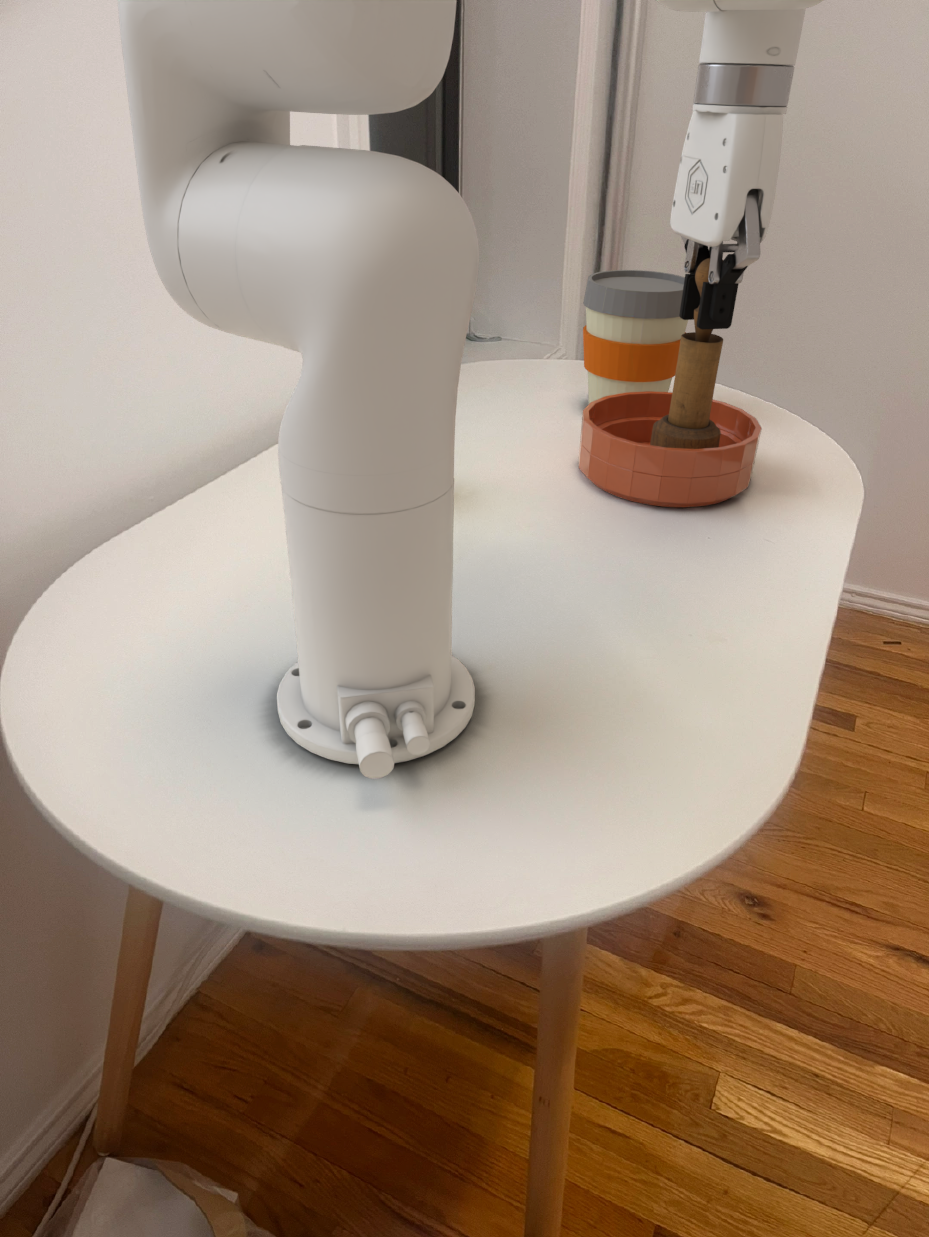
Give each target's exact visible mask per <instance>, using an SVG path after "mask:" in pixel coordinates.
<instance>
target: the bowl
mask: <svg viewBox="0 0 929 1237" xmlns="http://www.w3.org/2000/svg"><path fill="white" fill-rule="evenodd" d="M672 392H673V391H672ZM672 392H671V391H668V392H653V391H646V392H627V393H621V394H615V395H610V396H605V397H602V398H600V399H598V400H595V401H593V402H591V403H589V402H588V404H587V406H585V407H584V408H583V409H582V413H581V414H582V415H581V424H580V425H581V426H580V434H579V435H580V438H579V446H578V448H579V449H578V455H577V456H578V457H577V458H578V460H577V461H578V469H579V470H580V472H581V473H582V474H583V475H584V476H585V477H586V478H587V479H588V480H589V481H590V482H591V483H593V485H595V486H596V487H597V488H598V489H600V490H602V491H604V492H606V493H608V494H610V495H613V496H615V497H618V498H620V499H622V500H623V499H624V500H627V501H630V502H633V503H634V502H635V503H639V504H643V505H648V506H656V507H666V508H697V507H706V506H710V505H715V504H719V503H722V502H725V501H727V500H729V499H731V498H733V497H736V496H737V495H739V494H740V493H741V492H744V490H746V489H748V487H749V485H750V483H751V480H752V477H753V472H754V468H755V463H756V457H757V453H758V449H759V448H758V447H759V443H760V439H761V433H762V430H763V428H762V426H761V425H760V422H759V420H758V419H757V418H756V417H755V416H753V415H752V414H751V413H750V412H749V413H748V411H746V410H744V409H743V408H740V407H737V406H735V405H732V404H730V403H727V402H726V401H725V402H724V401H721V400H717V399H713V400H712V406H711V412H710V418H709V419H710V420H712V421H713V422H714V423H715V425H716V426H717V427H718V428H719V429H720V431H721V436H720V442H719V447H718V448H704V449H684V448H665V447H659V446H653V445H650V441H651V435H652V429H653V425H654V423H655V422H656V421H658V420H660V419H661V418H662V417H664V416H666V415H668V414H669V411H670V404H671V398H672Z"/></svg>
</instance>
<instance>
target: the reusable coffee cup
mask: <svg viewBox="0 0 929 1237" xmlns="http://www.w3.org/2000/svg"><path fill="white" fill-rule="evenodd" d="M684 280H685V276H682V275H678V274H675V273H668V272H661V271H656V270H655V271H654V270H642V269H641V270H640V269H613V270H604V271H598V272H594V273H591V274H589V275H588V276H587V281H586V286H585V292H584V297H583V305H584V307H585V321H586V322H585V323H586V324H585V325H584V326H583V329H582V342H583V343H582V344H583V346H582V347H583V367H584V369H585V370H586V371H587V393H588V395H587V396H588V399H587V401H588V404H589V403H591V402H593V401H595V400H598V399H600V398H602V397H605V396H610V395H615V394H621V393H627V392H646V391H653V392H670V388H671V384H672V380H673V378H675V373H676V367H677V360H678V354H679V347H680V340H681V335H682V334H684V333H687V332H686V330H687V326H688V322H689V320H683V319H682V318H680V316H679V314H680V307H681V300H682V293H683V287H684Z"/></svg>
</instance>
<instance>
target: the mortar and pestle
mask: <svg viewBox="0 0 929 1237" xmlns="http://www.w3.org/2000/svg"><path fill="white" fill-rule="evenodd" d="M723 260H724V259H722V262H723ZM709 267H710V258H708V259H705V260H704V261H702V262H701V263H700V265H699V266H698V268H697V270H696V273H695V281H696V285H697V288H698V290H699V293H700V297H701V292H702V286H703V282H709V281H708V275H709ZM698 311H699V307H698V308H696V309H695V310H694V320H693V324H694V331H692V332H686V333H684V334H682V335H681V340H680V347H679V354H678V360H677V367H676V373H675V376H674V379H673V380H674V381H673V386H672V387H673V388H672V398H671V404H670V411H669V414H668V415H666V416H664V417H662V418H661V419H660V420H658V421H656V422H655V423H654V425H653V429H652V435H651V441H650V445H653V446H659V447H665V448H684V449H704V448H718V447H719V442H720V436H721V431H720V429H719V428H718V427H717V426H716V425H715V423H714V422H713V421H712V420H710V419H709V418H710V412H711V406H712V400H714V399H713V398H714V393H715V388H716V383H717V378H718V371H719V366H720V359H721V354H722V350H723V344H724V338H723V337H722V336H720V335H717V334H715V333H713V331H714V329H704V330H702V329H700V328H698V327H697V318H698Z"/></svg>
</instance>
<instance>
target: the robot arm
mask: <svg viewBox="0 0 929 1237" xmlns="http://www.w3.org/2000/svg"><path fill="white" fill-rule="evenodd" d="M824 1H825V0H655V2H657V3H658V4H660V5H661V6H662V7H663V8H664V7H665V8H667V9H669V10H671V11H676V12H685V13H705V15H704V22H703V30H702V36H701V45H700V52H699V59H698V67H697V74H696V81H695V88H694V96H693V103H692V109H691V111H692V112H691V116H690V120H689V123H688V127H687V130H686V133H685V134H686V135H685V138H684V141H683V146H682V151H681V155H680V161H679V165H678V170H677V175H676V180H675V186H674V193H673V199H672V205H671V211H670V220H669V226H670V227H671V230H672V231H673V232H674V233H675V234H676V235H678V236H679V237H680V238H681V240H682V242H683V244H684V252H685V259H684V264H683V271H684V273H685V274H684V277H685V280H684V287H683V293H682V300H681V307H680V314H679V316H680V318H682V319H683V320H688V321H692V320H693V321H694V310H695V309H696V308H698V307H699V311H698V318H697V327H698V328H700V329H702V330H704V329H713V330H726V329H727V330H728V329H729V328H731V326H732V323H733V317H734V312H735V308H736V307H735V306H736V302H737V295H738V290H739V289H738V288H739V284H741V283H742V282H743V280H744V273H745V271H746V270H747V269H748V267H749V266H750V265H752V264H754V263H755V262H757V261H759V259H760V257H761V243H763V242H764V240H765V238H766V237H767V234H768V231H769V226H770V222H771V220H772V214H773V209H774V202H775V197H776V192H777V185H778V176H779V169H780V161H781V152H782V141H783V131H784V130H783V128H784V125H783V124H784V115H786V114H787V111H788V105H789V100H790V94H791V88H792V83H793V79H794V72H795V68H796V67H795V66H796V63H797V57H798V51H799V47H800V41H801V36H802V31H803V25H804V21H805V15H806V9H809V8H812V7H814V6H817V5H818V4H821V3H822V2H824ZM117 12H118V23H119V33H120V35H119V36H120V43H121V44H120V45H121V50H122V60H123V67H124V68H123V69H124V74H125V75H124V78H125V83H126V84H125V85H126V92H127V100H128V109H129V116H130V118H129V119H130V124H131V134H132V140H133V150H134V159H135V163H136V164H135V166H136V173H137V181H138V182H137V183H138V190H139V196H140V206H141V211H142V219H143V223H144V224H143V225H144V230H145V234H146V240H147V244H148V248H149V251H150V254H151V258H152V261H153V265H154V267H155V270H156V272H157V274H158V276H159V279H160V281H161V282H162V284H163V287H164V288H165V290H166V291H167V293H168V294H169V296H170V298H171V299H172V300H173V301H174V303H175V304H176V305H177V306H179V308H180V309H181V310H182V311H183V312H185V313H186V314H187V315H188V316H189V317H192V318H193V319H194V320H196V321H197V322H199V323H200V324H203V325H205V326H207V327H209V328H212V329H215V330H218V331H221V332H224V333H228V334H232V335H235V336H238V337H241V338H246V339H250V340H253V341H258V342H262V343H266V344H270V345H273V346H277V347H278V346H279V347H283V348H284V349H287V350H290V351H293V352H296V353H300V354H301V358H302V363H301V364H302V366H301V370H300V375H299V378H298V380H297V383H296V384H295V388H294V389H293V392H292V394H291V396H290V398H289V400H288V402H287V404H286V407H285V410H284V412H283V415H282V419H281V421H280V424H279V425H280V426H279V430H278V431H279V432H278V438H277V439H278V441H277V456H278V469H279V481H280V482H279V483H280V487H281V498H282V509H283V519H284V528H285V529H284V530H285V538H286V539H285V540H286V549H287V550H286V551H287V560H288V561H287V562H288V570H289V571H288V572H289V581H290V591H291V601H292V612H293V621H294V622H293V623H294V633H295V640H296V641H295V643H296V653H297V662H295V663H294V664H293V665H292V666H291V667H290V668H289V669H288V670H287V671H286V672H285V673H284V676H282V679H281V681H280V682H279V684H278V688H277V693H276V705H277V707H276V708H277V714H278V718H279V721H280V724H281V726H282V727H283V730H284V731H285V732H286V734H287V736H289V737H290V738H291V739H292V740H293V741H294V742H295V743H296V744H297V745H299V746H301V747H302V748H303V749H305V750H307V751H308V752H310V753H312V754H315V755H316V756H319V757H322V758H325V759H326V760H327V759H328V760H331V761H334V762H340V763H344V764H348V765H349V764H350V765H358V767H359V772H360V773H361V775H363V777H366V778H367V779H371V780H376V779H377V780H378V779H382V778H384V777H386V776H389V775H390V773H391V772H392V771H394V768H395V764H398V763H404V762H408V761H412V760H416V759H418V758H421V757H424V756H427V755H429V754H432V753H434V752H435V751H438V750H440V749H441V748H443V747H446V746H447V744H449V743H450V742H452V741H453V740H455V739H456V738H457V737H458V736H459V735H460V734H461V733H462V732H463V730H465V729H466V727H467V726H468V724H469V722H470V720H471V718H472V717H473V713H474V708H475V702H476V700H475V698H476V696H475V695H476V688H475V683H474V679H473V676H472V675H471V673H470V671H469V670H468V668H467V667H466V666H465V664H463V663H462V662H461V661H460V659H458V658H457V657H456V656H454V655H453V654H452V650H453V649H452V645H453V643H452V641H453V586H454V585H453V581H454V576H453V575H454V525H455V524H454V520H455V519H454V517H455V514H454V513H455V447H456V446H455V444H456V443H455V441H456V440H455V439H456V419H457V404H458V391H459V382H460V374H461V367H462V361H463V356H464V350H465V344H466V340H467V335H468V330H469V325H470V321H471V317H472V311H473V307H474V302H475V298H476V292H477V285H478V280H479V269H480V268H479V267H480V245H479V237H478V231H477V227H476V225H475V221H474V219H473V215H472V213H471V211H470V209H469V207H468V205H467V203H466V201H465V200H464V199H463V197H462V196H461V194H460V193H459V192H458V191H457V189H456V188H455V187H454V186H453V185H452V184H451V183H450V182H449V181H448V180H447V179H445V177H443V176H442V175H441V174H439V173H438V172H436V171H435V170H433V169H431V168H429V167H427V166H425V165H424V164H422V163H420V162H417V161H414V160H412V159H410V158H406V157H403V156H400V155H397V154H396V155H395V154H391V153H386V152H381V151H375V150H366V149H356V148H345V147H331V146H319V145H306V144H302V145H301V144H300V145H294V144H293V145H292V144H291V112H293V113H306V114H307V113H309V114H324V115H325V114H326V115H343V116H344V115H345V116H363V115H364V116H369V115H370V116H372V115H383V114H391V113H397V112H401V111H404V110H407V109H410V108H414V107H415V106H417V105H419V104H420V103H421V102H423V101H424V100H426V99H427V98H429V97H430V96H431V95H432V94H433V92H434V91H435V90H436V88H437V87H438V85H439V84H440V82H441V80H442V79H443V77H444V75H445V72H446V69H447V66H448V63H449V60H450V56H451V51H452V44H453V41H454V35H455V34H454V33H455V24H456V23H455V22H456V13H457V0H117ZM731 240H732V241H734V242H736V243H724V242H730V241H731ZM724 253H728V254H727V255H726V256H725V258H724V259H723V257H724ZM708 258H710V267H709V275H708V281H709V282H703V286H702V292H701V297H700V293H699V290H698V288H697V285H696V281H695V273H696V270H697V268H698V266H699V265H700V263H701V262H702V261H704V260H705V259H708ZM722 260H723V262H722Z"/></svg>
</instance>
